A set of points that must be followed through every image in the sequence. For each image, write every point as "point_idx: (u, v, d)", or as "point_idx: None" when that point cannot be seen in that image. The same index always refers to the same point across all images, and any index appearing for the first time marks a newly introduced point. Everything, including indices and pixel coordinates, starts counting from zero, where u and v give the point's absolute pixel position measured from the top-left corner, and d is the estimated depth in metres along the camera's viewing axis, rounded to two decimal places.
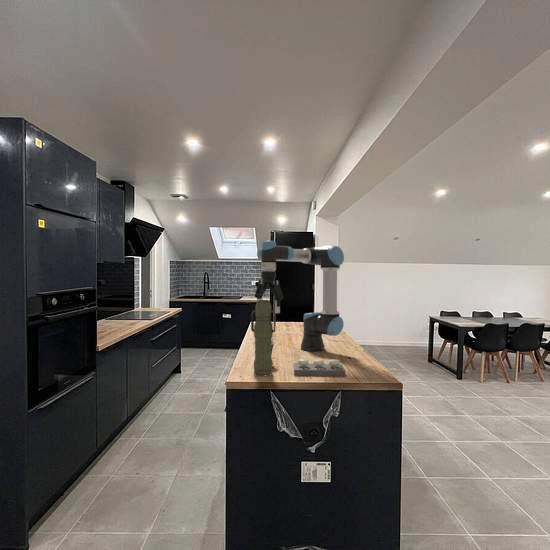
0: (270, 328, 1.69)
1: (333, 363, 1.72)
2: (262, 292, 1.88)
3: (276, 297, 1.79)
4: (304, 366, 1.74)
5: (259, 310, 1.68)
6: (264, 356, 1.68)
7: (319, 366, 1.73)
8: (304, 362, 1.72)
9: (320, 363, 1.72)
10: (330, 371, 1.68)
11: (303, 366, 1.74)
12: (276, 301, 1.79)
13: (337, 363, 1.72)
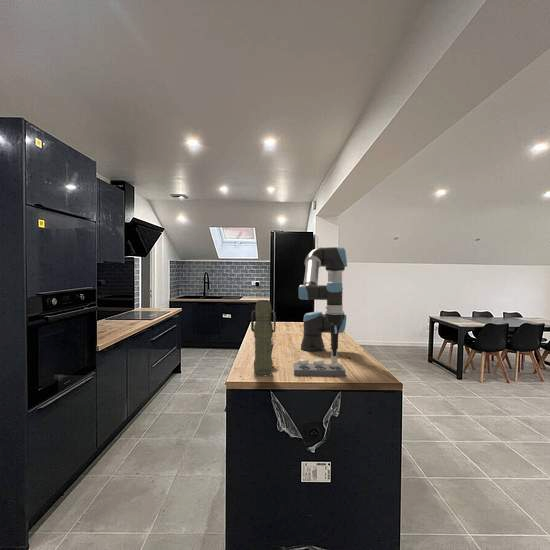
0: (270, 328, 1.69)
1: (333, 365, 1.72)
2: None
3: (332, 346, 1.72)
4: (304, 366, 1.74)
5: (259, 310, 1.68)
6: (264, 356, 1.68)
7: (319, 366, 1.73)
8: (304, 362, 1.72)
9: (320, 363, 1.72)
10: (330, 371, 1.68)
11: (303, 366, 1.74)
12: (332, 350, 1.73)
13: (337, 365, 1.72)
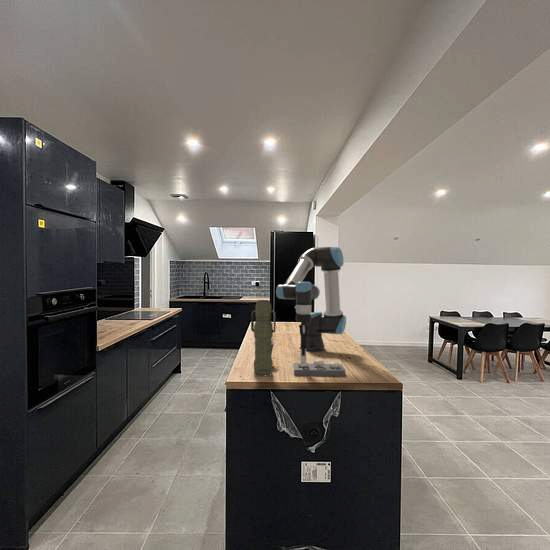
0: (270, 328, 1.69)
1: (333, 365, 1.72)
2: None
3: None
4: None
5: (259, 310, 1.68)
6: (264, 356, 1.68)
7: (319, 366, 1.73)
8: (304, 364, 1.72)
9: (320, 363, 1.72)
10: (330, 371, 1.68)
11: None
12: (301, 349, 1.74)
13: (337, 365, 1.72)
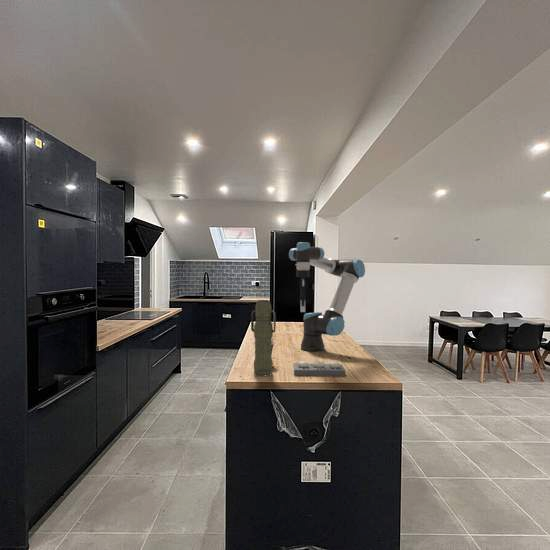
0: (270, 328, 1.69)
1: (333, 365, 1.72)
2: None
3: None
4: None
5: (259, 310, 1.68)
6: (264, 356, 1.68)
7: None
8: (304, 364, 1.72)
9: (320, 365, 1.72)
10: (330, 371, 1.68)
11: None
12: (301, 301, 2.01)
13: (337, 365, 1.72)
